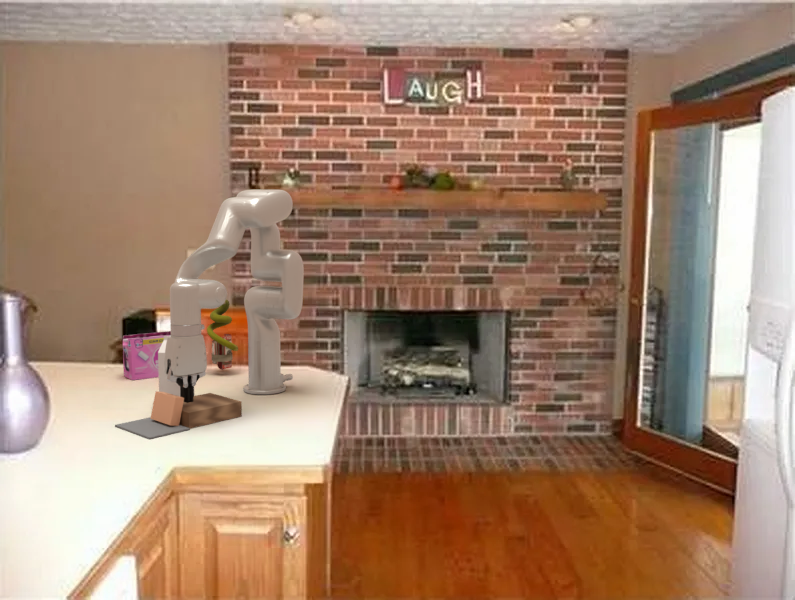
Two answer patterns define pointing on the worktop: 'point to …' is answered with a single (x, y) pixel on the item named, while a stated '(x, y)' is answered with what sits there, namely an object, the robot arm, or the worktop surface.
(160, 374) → the milk carton
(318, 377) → the worktop surface
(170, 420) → the peach flat block
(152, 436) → the mat
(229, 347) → the prank snake can
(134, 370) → the gum box
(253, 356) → the robot arm
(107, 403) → the worktop surface
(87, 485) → the worktop surface
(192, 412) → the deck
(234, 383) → the worktop surface
